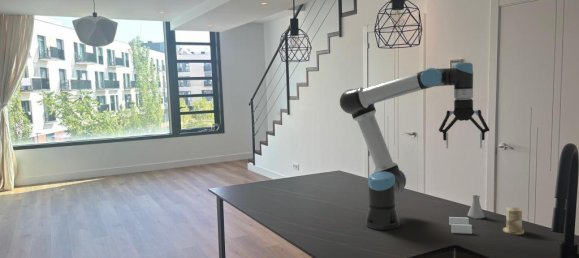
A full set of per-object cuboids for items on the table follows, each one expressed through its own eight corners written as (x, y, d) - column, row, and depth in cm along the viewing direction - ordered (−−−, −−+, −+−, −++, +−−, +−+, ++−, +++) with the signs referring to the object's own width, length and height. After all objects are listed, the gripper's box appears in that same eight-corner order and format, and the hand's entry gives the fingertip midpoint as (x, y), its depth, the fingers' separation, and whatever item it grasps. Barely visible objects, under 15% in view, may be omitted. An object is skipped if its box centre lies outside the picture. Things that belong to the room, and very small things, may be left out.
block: (508, 231, 181) (508, 210, 180) (506, 227, 186) (506, 207, 185) (521, 232, 180) (522, 211, 179) (519, 228, 185) (519, 207, 184)
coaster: (505, 234, 180) (505, 232, 180) (501, 227, 188) (501, 226, 188) (526, 235, 178) (526, 233, 178) (521, 228, 186) (521, 227, 186)
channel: (451, 232, 185) (451, 224, 184) (449, 224, 195) (449, 216, 195) (471, 233, 182) (471, 225, 182) (468, 225, 193) (468, 217, 193)
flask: (474, 219, 200) (474, 198, 199) (464, 215, 207) (464, 195, 206) (487, 218, 202) (488, 196, 201) (477, 213, 209) (477, 193, 208)
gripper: (433, 100, 187) (433, 149, 189) (496, 98, 181) (496, 149, 183) (432, 99, 194) (432, 146, 196) (493, 97, 188) (493, 146, 190)
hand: (463, 147), depth 190 cm, fingers open, 13 cm apart
